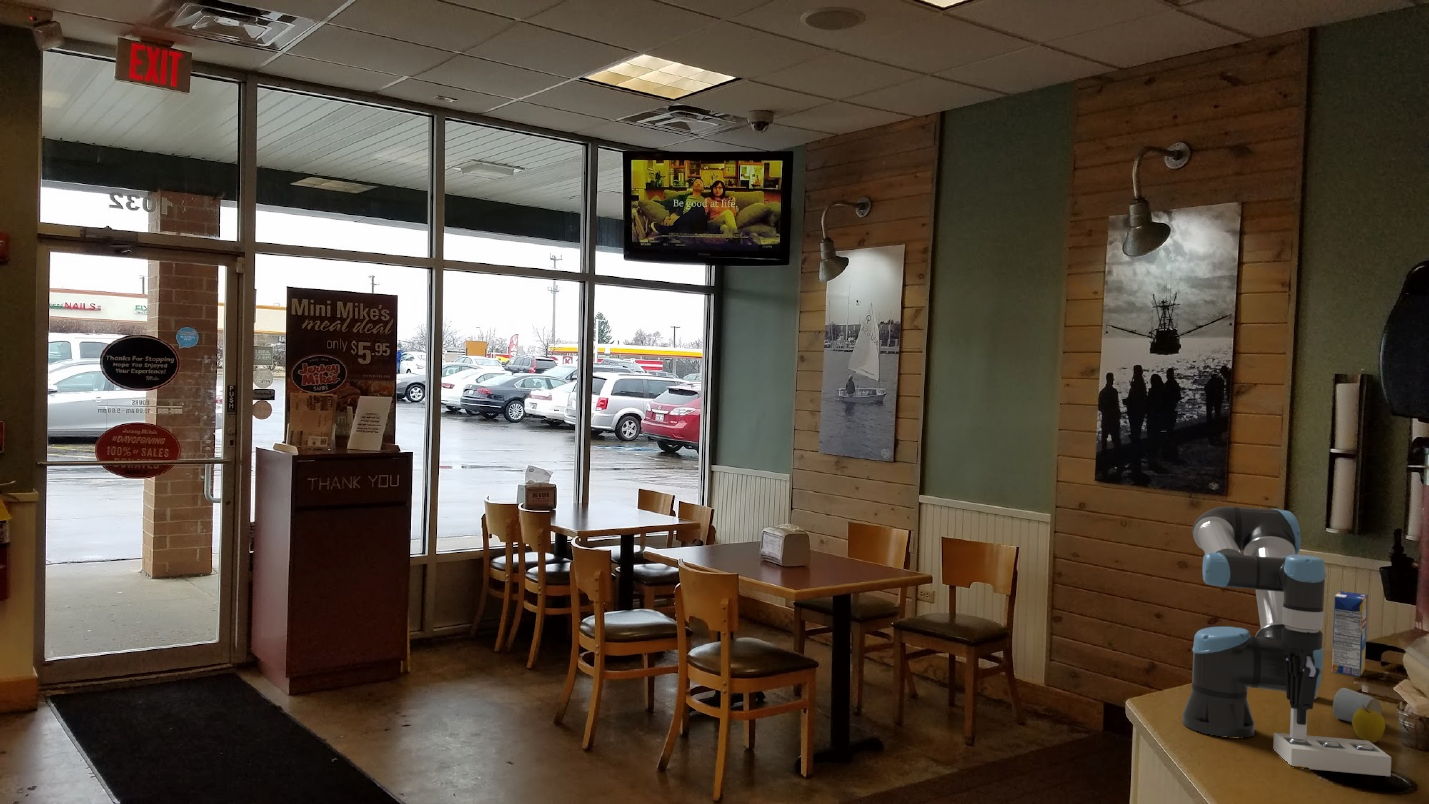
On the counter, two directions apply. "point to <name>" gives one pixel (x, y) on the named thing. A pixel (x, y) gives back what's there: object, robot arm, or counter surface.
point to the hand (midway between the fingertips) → (1298, 737)
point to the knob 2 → (1363, 747)
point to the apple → (1368, 724)
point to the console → (1333, 755)
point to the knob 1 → (1297, 741)
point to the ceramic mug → (1352, 704)
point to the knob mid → (1330, 744)
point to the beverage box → (1349, 633)
